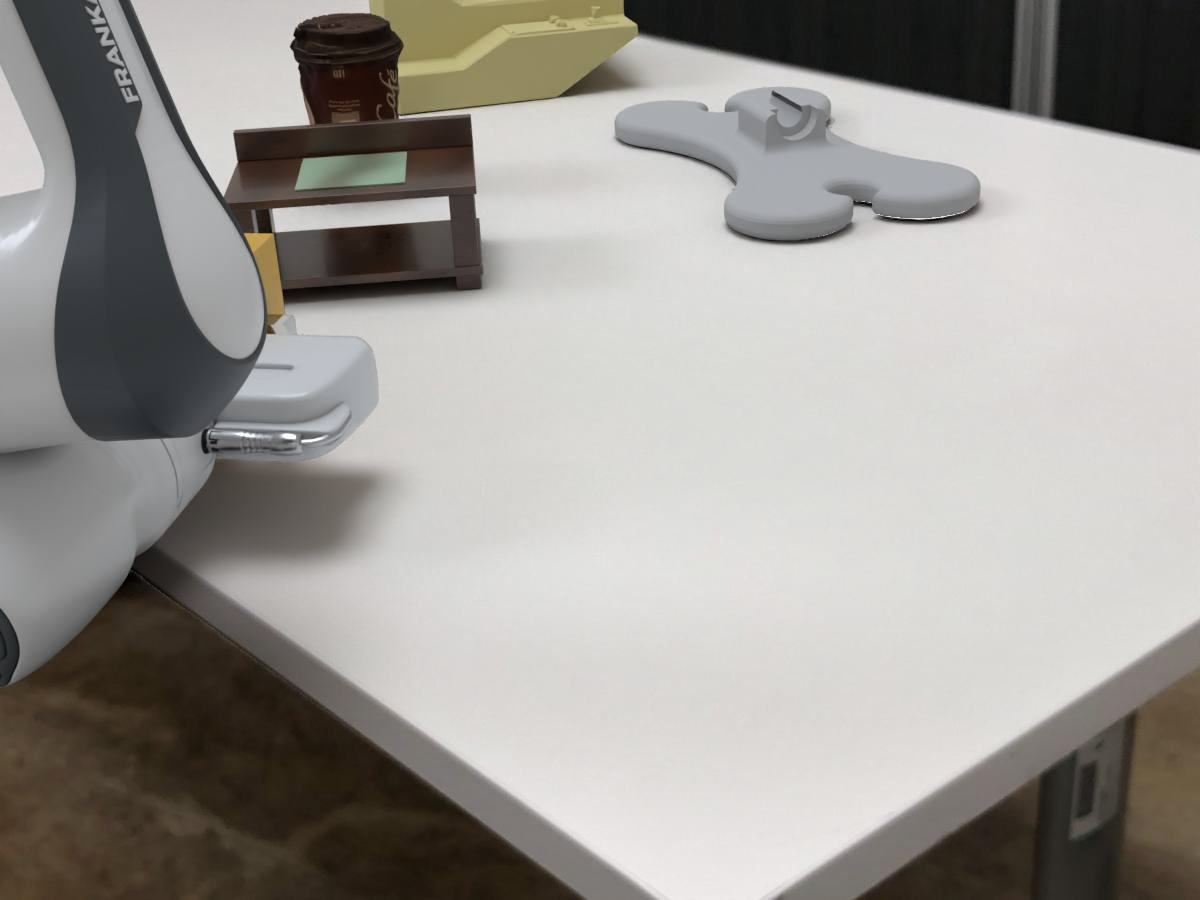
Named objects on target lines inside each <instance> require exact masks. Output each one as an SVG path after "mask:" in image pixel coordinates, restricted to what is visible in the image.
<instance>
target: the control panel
mask: <svg viewBox="0 0 1200 900" xmlns="http://www.w3.org/2000/svg"><path fill="white" fill-rule="evenodd" d="M624 2H625V1H624V0H368V5H369V6H368V7H369V13H371V14H373V15H377V16H380V17H382V18H383V19H385V20H387V21H389V22H390V27H391V30H392V31H394V32H395V33H396V34H397V35H398V36H399V38H400V39H401V40H402V42H403V44H404V47H403V50H402V51H401V54H400V56H399V59H398V84H399V89H400V90H399V95H398V114H399V115H409V114H415V113H423V112H433V111H435V112H436V111H443V110H444V111H445V110H452V109H461V108H471V107H480V106H481V107H482V106H489V105H497V104H498V105H499V104H507V103H514V102H523V101H524V102H525V101H533V100H543V99H551V98H552V99H553V98H558V97H560V95H562V94H563V93H565V92H566V91H568V90H569V89H570V88H572V87H573V86H574V85H575V84H577V83H578V82H579V81H580V80H581V79H584V78H585V77H586V76H587V75H588V74H589V73H591V72H592V71H594V69H596V68H597V67H599V66H600V65H602V63H605V61H606V60H608V59H610V57H612V56H613V55H614V54H616V53H617V52H619V51H620V50H621V49H623V47H626V45H628V44H629V43H630V42H631V41H632V40H634V39H635V38H637V37H638V36H639V29H638V28H639V27H638V24H637V23H636V22H634V21H632V20H631V19H629V18H628V17H627V16H625V10H624V9H625V6H624V4H625V3H624Z"/></svg>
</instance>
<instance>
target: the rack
mask: <svg viewBox="0 0 1200 900" xmlns="http://www.w3.org/2000/svg"><path fill="white" fill-rule="evenodd" d="M472 126H473V125H472V115H471V114H470V113H463V114H449V115H436V116H435V115H434V116H422V117H421V116H420V117H418V116H417V117H406V118H405V117H403V118H399V119H389V120H374V121H359V122H344V123H330V124H315V125H310V124H301V125H288V126H287V125H286V126H273V127H272V126H271V127H257V128H243V129H242V128H241V129H234V130H233V132H232V134H233V142H234V148H235V153H236V154H235V155H236V161H237V163H236V165H235V166H234V167H235V168H234V170H233V173H232V175H231V178H230V180H229V183H228V185H227V188H226V190H225V192H224V195H223V197H224V199H225V200H226V202H227V204H228V205H229V207H230V209H231V211H232V212H233V214H234V216H235V218H236V219H237V221H238V223H239V225H240V227H241V229H242V230H243V232H244V233H268V234H274V240H275V247H276V254H277V260H278V267H279V274H280V281H281V288H282V290H290V289H291V290H292V289H293V290H295V289H306V288H307V289H308V288H321V287H332V286H347V285H358V284H359V285H361V284H372V283H386V282H387V283H388V282H401V281H414V280H426V279H427V280H428V279H429V280H430V279H440V278H453V277H454V278H455V283H456V290H457V291H458V290H473V289H482V276H481V275H484V263H483V262H484V261H483V249H482V235H481V233H482V232H481V222H480V218H479V217H477V208H476V197H475V195H477V194H478V193H477V192H478V191H477V179H476V178H477V177H476V165H475V164H476V163H475V148H474V136H473V127H472ZM442 197H443V198H444V197H448V208H449V217H450V219H444V220H443V219H442V220H429V221H417V222H416V221H415V222H414V221H413V222H402V223H401V222H399V223H390V224H389V223H386V224H376V225H375V224H374V225H373V224H372V225H359V226H347V227H345V226H343V227H332V228H317V229H304V230H290V231H276V226H275V218H274V212H273V210H275V209H287V208H302V207H315V206H332V205H346V204H359V203H373V202H386V201H401V200H414V199H415V200H416V199H428V198H442Z"/></svg>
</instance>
